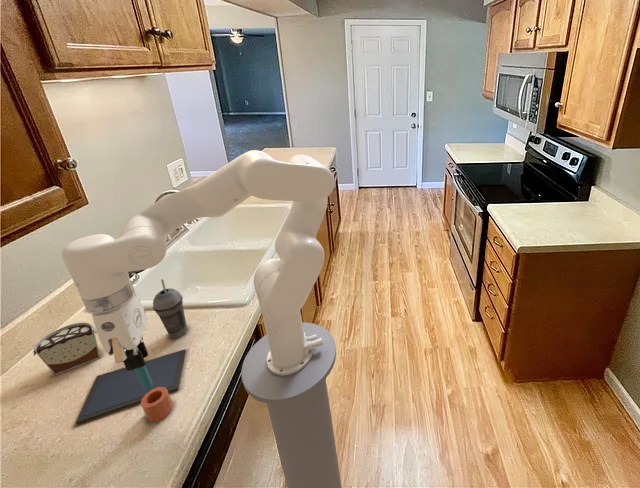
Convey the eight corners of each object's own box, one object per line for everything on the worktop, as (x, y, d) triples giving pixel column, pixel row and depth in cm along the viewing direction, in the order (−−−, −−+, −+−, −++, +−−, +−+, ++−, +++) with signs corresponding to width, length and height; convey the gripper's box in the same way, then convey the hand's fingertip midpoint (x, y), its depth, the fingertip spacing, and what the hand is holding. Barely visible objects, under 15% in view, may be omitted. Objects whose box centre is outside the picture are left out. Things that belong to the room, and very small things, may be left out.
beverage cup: (183, 320, 105) (165, 268, 97) (197, 327, 102) (180, 274, 94) (159, 337, 99) (138, 282, 91) (174, 345, 96) (153, 289, 88)
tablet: (185, 351, 94) (185, 348, 93) (178, 390, 83) (177, 387, 82) (98, 378, 86) (96, 375, 86) (76, 424, 75) (75, 422, 75)
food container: (109, 340, 98) (97, 314, 94) (107, 354, 93) (94, 327, 89) (52, 361, 91) (37, 334, 88) (47, 378, 87) (30, 349, 83)
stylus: (153, 381, 76) (136, 339, 71) (152, 388, 74) (133, 345, 69) (144, 384, 75) (125, 341, 70) (142, 391, 73) (123, 348, 69)
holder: (174, 397, 81) (168, 383, 79) (170, 416, 77) (164, 401, 75) (150, 406, 79) (143, 391, 77) (145, 426, 75) (138, 411, 73)
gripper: (120, 315, 60) (150, 386, 66) (142, 268, 73) (165, 331, 80) (66, 328, 57) (104, 401, 64) (100, 277, 70) (128, 342, 77)
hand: (138, 362), depth 72 cm, fingers closed on stylus, 1 cm apart
